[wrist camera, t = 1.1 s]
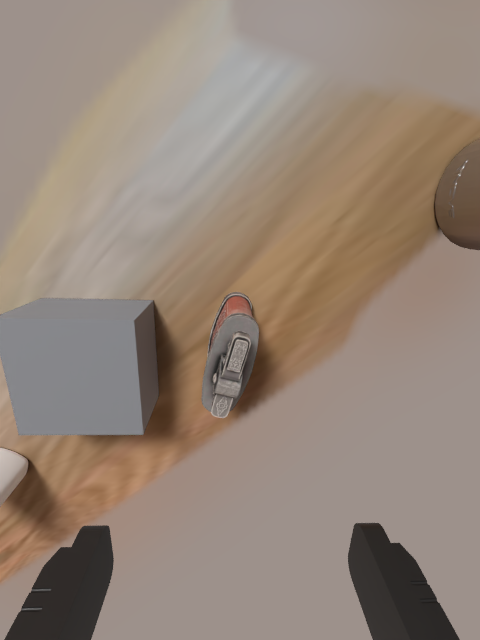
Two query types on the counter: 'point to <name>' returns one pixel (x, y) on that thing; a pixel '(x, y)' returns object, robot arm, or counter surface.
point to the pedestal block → (80, 366)
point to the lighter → (229, 354)
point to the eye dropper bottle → (10, 472)
